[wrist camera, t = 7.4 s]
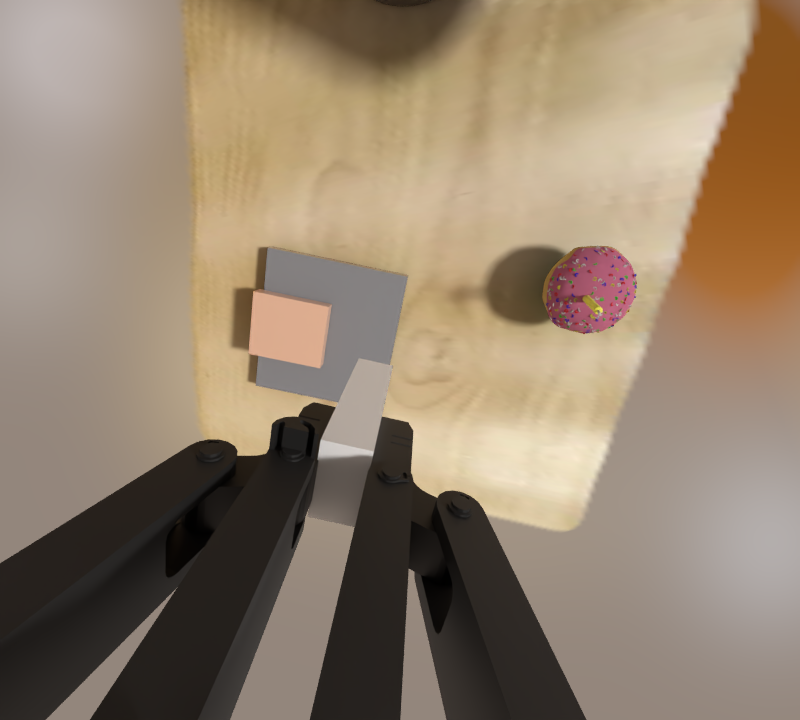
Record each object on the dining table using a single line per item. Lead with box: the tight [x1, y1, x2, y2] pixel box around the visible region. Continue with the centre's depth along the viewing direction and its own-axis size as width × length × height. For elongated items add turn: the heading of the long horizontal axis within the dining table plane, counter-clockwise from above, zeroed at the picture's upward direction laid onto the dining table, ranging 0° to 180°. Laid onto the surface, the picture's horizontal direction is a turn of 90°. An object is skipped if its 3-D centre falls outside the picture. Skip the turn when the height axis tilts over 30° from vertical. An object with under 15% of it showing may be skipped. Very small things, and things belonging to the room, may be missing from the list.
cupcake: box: [542, 246, 637, 334], centre depth 37 cm, size 9×8×12 cm
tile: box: [249, 289, 332, 368], centre depth 44 cm, size 7×2×8 cm
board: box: [256, 247, 408, 402], centre depth 45 cm, size 16×15×2 cm
